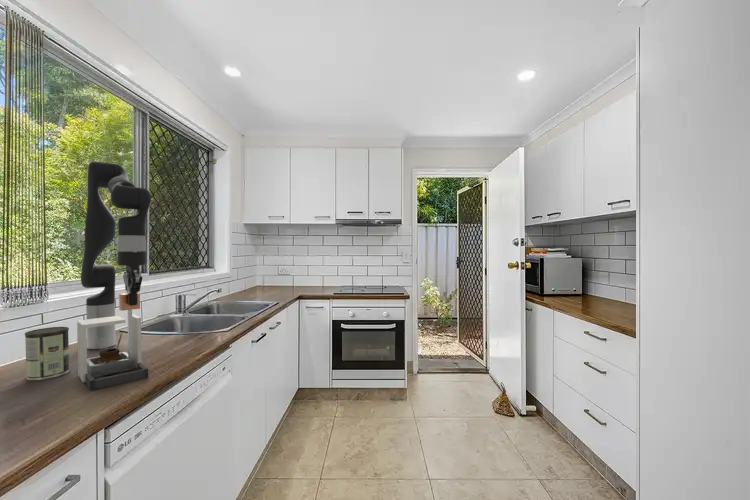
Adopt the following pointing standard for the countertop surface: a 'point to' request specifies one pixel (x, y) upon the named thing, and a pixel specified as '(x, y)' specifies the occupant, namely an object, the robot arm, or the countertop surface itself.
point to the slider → (126, 358)
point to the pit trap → (116, 378)
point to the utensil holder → (109, 354)
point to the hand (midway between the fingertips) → (132, 305)
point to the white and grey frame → (96, 322)
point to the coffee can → (47, 353)
